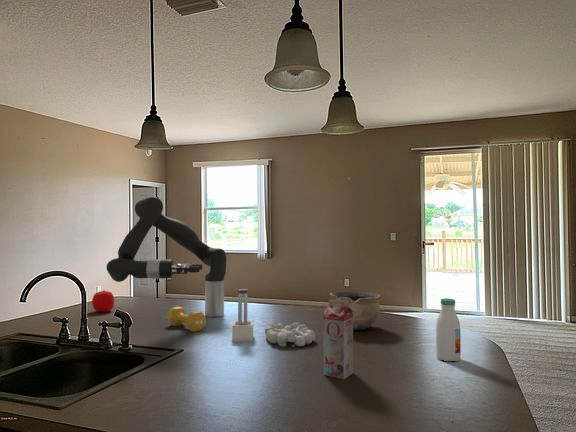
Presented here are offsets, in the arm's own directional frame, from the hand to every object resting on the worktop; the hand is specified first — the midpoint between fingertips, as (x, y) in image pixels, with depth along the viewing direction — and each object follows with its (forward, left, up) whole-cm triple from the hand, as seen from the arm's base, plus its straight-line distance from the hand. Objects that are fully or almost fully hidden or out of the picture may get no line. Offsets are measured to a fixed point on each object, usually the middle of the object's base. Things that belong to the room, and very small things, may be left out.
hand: (200, 268), depth 173 cm
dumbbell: (-11, -13, -28) cm, 32 cm away
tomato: (-30, -71, -28) cm, 82 cm away
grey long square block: (-2, +18, -26) cm, 32 cm away
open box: (-2, +18, -27) cm, 33 cm away
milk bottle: (+2, +94, -28) cm, 98 cm away
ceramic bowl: (-32, +58, -28) cm, 71 cm away
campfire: (-5, +36, -28) cm, 46 cm away
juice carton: (+27, +61, -28) cm, 72 cm away
